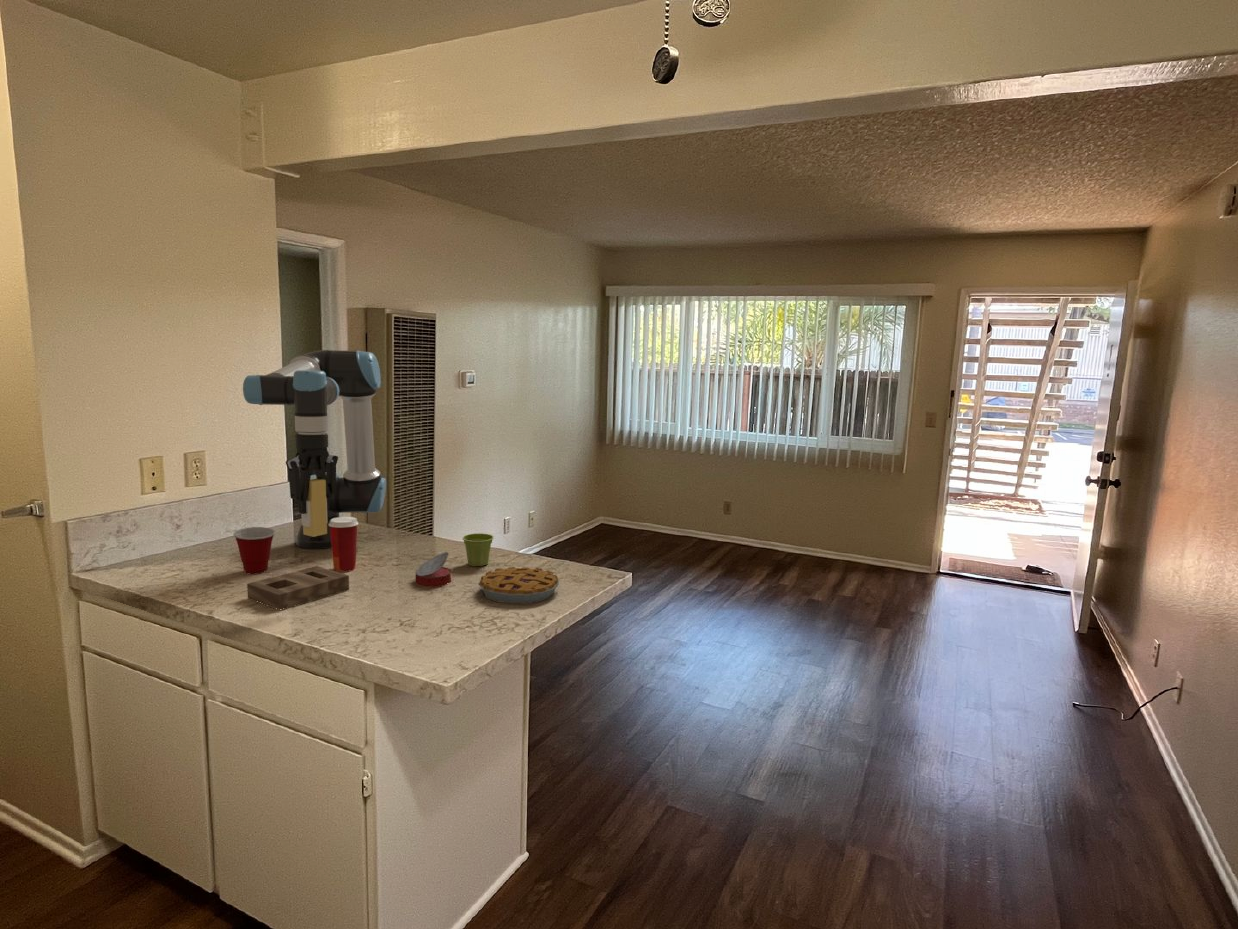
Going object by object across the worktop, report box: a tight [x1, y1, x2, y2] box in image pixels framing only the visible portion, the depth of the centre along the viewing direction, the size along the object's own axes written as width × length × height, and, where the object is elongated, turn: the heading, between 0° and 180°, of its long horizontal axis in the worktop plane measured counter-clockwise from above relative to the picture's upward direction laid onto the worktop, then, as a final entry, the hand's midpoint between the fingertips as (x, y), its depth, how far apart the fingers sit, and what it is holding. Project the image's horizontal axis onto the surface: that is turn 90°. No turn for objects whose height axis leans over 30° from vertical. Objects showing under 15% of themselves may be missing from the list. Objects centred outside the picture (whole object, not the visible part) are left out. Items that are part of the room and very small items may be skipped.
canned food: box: [415, 551, 452, 588], centre depth 200 cm, size 11×10×10 cm
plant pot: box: [462, 532, 495, 567], centre depth 218 cm, size 9×9×9 cm
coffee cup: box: [328, 516, 359, 573], centre depth 209 cm, size 8×8×15 cm
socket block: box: [246, 565, 350, 611], centre depth 187 cm, size 20×14×4 cm
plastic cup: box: [232, 526, 276, 575], centre depth 204 cm, size 11×11×12 cm
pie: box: [478, 566, 560, 604], centre depth 194 cm, size 22×22×5 cm
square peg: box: [303, 478, 327, 537], centre depth 179 cm, size 4×4×14 cm
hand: (314, 523), depth 180 cm, fingers closed on square peg, 4 cm apart
